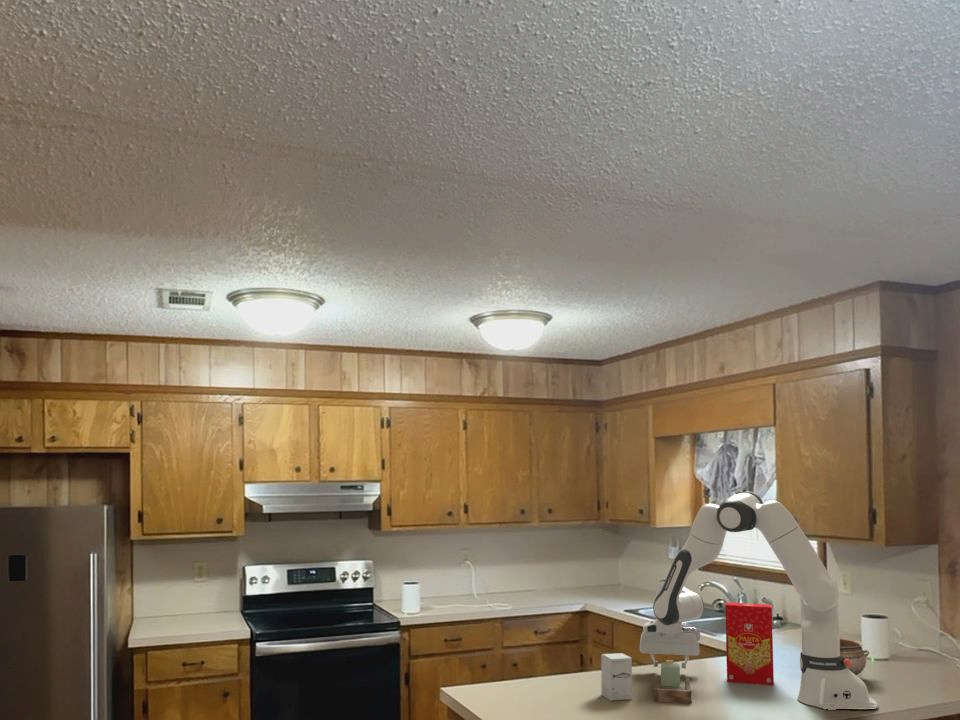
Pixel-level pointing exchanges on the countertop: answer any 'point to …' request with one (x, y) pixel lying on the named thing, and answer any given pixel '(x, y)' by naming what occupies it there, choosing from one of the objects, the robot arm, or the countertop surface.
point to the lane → (672, 693)
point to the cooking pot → (853, 654)
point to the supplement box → (616, 676)
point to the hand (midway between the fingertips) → (669, 667)
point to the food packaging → (749, 643)
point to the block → (670, 673)
